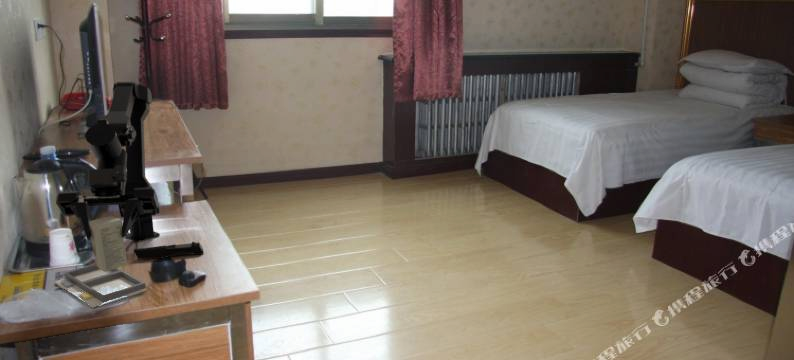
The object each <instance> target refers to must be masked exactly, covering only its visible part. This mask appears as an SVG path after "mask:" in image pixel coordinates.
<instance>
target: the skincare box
mask: <svg viewBox="0 0 794 360" xmlns="http://www.w3.org/2000/svg"><path fill="white" fill-rule="evenodd" d="M89 225H90V231H91V244H92V248H93V257H94V262H95V263H94V264H96V267H98V268H99V269H101V270H102V271H104V272H105V271H108V270H112V269H115V268H121V267H123V266H127V265H128V257H127V253H126V252H127V251H126V245H125V244H126V243H125V238H123V237H122V225H123V222H122V219H121V218H119V217H117V216H114V215H108V216H104V217H100V218H97V219H94V220H93V219H92V221H89Z"/></svg>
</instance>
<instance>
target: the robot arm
mask: <svg viewBox="0 0 794 360" xmlns="http://www.w3.org/2000/svg"><path fill="white" fill-rule="evenodd" d="M152 95H153V94H152V92H151V90H150V88H149V87H148V86H146V85H141V84H138V83H137V82H134V81H116V82H114V83H113V87H112V99H111V102H110V107H109V110H108V113H107V114H105V115H103V116H101V117H100V119H97V120H96V124H93V125H91V126H90V127H89V128H88V129H87V130H86V132H85V133H84V134H85V135H84V138H85V140H86V142H87V144H88V147H89V149H90V150H91V153H92V154H93V156H94V158H96V159H97V164H96V165H97V166H96V169H88V170H87V186H88V187H90V193H92V194H94V195H93V196H86V195H81V193H80V191H79V190H69V191H60V192H59V193H58V194H57V195H56V198H55V200H56V201H55V204H56V206H57V207H58V208H59V211H61V213H62V214H63V215H65V216H75V217H76V218H78V219H80V220H81V223H82V227H83V230H84V234H85V237H86V240H88V241H91V239H92V237H91V231H90V225H89V221H92V220H93V214H92V212H91V210H90V207H97V206H115V205H118V210H119V215H120V218H122V237H123V238H124V239H125V238H127V239H129V240H131V241H134V242H136V243H139V242H143V241H145V240H149V239H152V238H156V237H159V236H160V233H159V232H156V231H154V222H153V216H157V214H160V213H161V210H160V204H159V198H158V195H157V193H156V189H154V188H153V186H152V184H151V183H150V182H149V180H148V178H147V177H146V161H145V155H146V154H145V153H146V152H145V129H144V128H145V127H144V125H145V123H144V121H145V120H146V119H147V117H148V115H149V114H150V110H151V107H150V105H152V103H153V98H152V97H153V96H152ZM124 148H125V149H124Z"/></svg>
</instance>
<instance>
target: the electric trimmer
mask: <svg viewBox="0 0 794 360" xmlns="http://www.w3.org/2000/svg"><path fill="white" fill-rule="evenodd" d="M133 253H134V255H135V257H136V258H137V259H163V258H162V257H166V256H168V257H173V256H175V257H176V256H185V255H187V256H188V255H198V256H200V255H203V254H204V248H203V246H202V245H201V244H200V242H199V241H198V242H195V241H191V242H190V243H181V244H176V243H175V244H170V245H168V244H167V245H157V246H150V247H148V246H147V247H144V248H143V247H142V248H141V247H140V248H134V249H133ZM166 258H167V257H166Z"/></svg>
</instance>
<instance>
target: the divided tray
mask: <svg viewBox="0 0 794 360" xmlns="http://www.w3.org/2000/svg"><path fill="white" fill-rule="evenodd" d="M63 274H64V278H62V279H59V280H55V281H54V283H55V285H57V286H58V287H60V288H61V289H62V290H64V289H65V290H64V291H66V290H69V291H71V292H81V293H82V292H83V293H82V294H78V297H80V298H81V299H82V300H83V301H85V302H86V303H87V304H89V305H90V306H91V307H92V308H91V307H90V306H89V307H90V308H91V309H93V308H94V307H96V306H99V305H101V304H102V303H104V302H107V301H109V300H113V299H116V298H120V297H122V296H129V297H132V296H135V295H137V294H140V293H144V292H146V291H147V287H146V282H145V281H143V280H141V279H139V278H137V277H135V276H134V275H131V274H130V273H129V272H126V271H124V270H122V269H121V268H120V267H118V268H115V269H112V270H108V271H105V272H104V271H102V270H101V269H99V268H98V267H96V263H94V264H91V265H88V266H84V267H81V268H78V269H74V270H71V271H67V272H64V273H63ZM120 285H123V286H127V287H128V288H125V289H122V290H119V291H115V292H112V293H109V294H106V295H102V294H101V293H99V292H97V291H100V290H101V288H102V287H104V288H105V287H107V286H109V287H111V288H113V289H114V288H115V287H119V286H120ZM87 304H86V305H87ZM94 309H95V308H94Z"/></svg>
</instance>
